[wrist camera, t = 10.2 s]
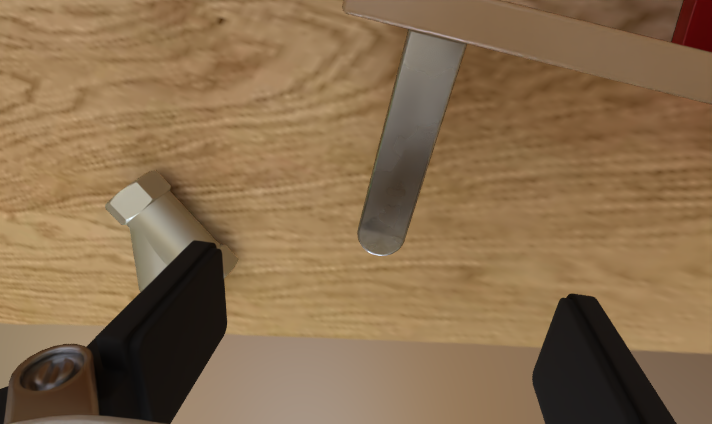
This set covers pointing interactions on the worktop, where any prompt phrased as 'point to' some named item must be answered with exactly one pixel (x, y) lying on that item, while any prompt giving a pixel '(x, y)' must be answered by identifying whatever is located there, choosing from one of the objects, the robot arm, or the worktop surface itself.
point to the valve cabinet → (695, 25)
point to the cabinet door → (503, 34)
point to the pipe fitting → (159, 226)
